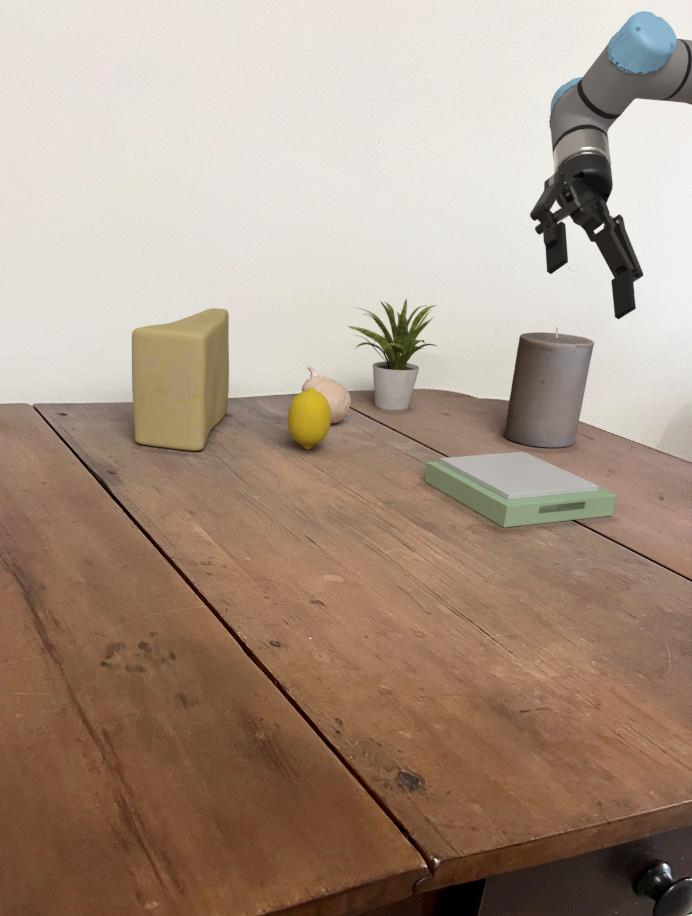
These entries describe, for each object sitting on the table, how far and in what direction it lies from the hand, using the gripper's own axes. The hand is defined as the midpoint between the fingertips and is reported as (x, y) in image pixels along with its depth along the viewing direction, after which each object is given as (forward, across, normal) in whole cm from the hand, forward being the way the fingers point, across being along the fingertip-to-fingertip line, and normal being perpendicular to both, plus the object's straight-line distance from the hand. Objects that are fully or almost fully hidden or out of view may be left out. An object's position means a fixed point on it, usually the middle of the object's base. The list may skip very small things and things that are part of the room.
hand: (592, 290), depth 121 cm
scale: (+35, +12, -4) cm, 37 cm away
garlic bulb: (+12, +19, -32) cm, 39 cm away
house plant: (+2, +5, -34) cm, 34 cm away
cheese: (+18, +36, -38) cm, 56 cm away
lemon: (+23, +26, -26) cm, 43 cm away
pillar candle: (+14, -5, -14) cm, 20 cm away
